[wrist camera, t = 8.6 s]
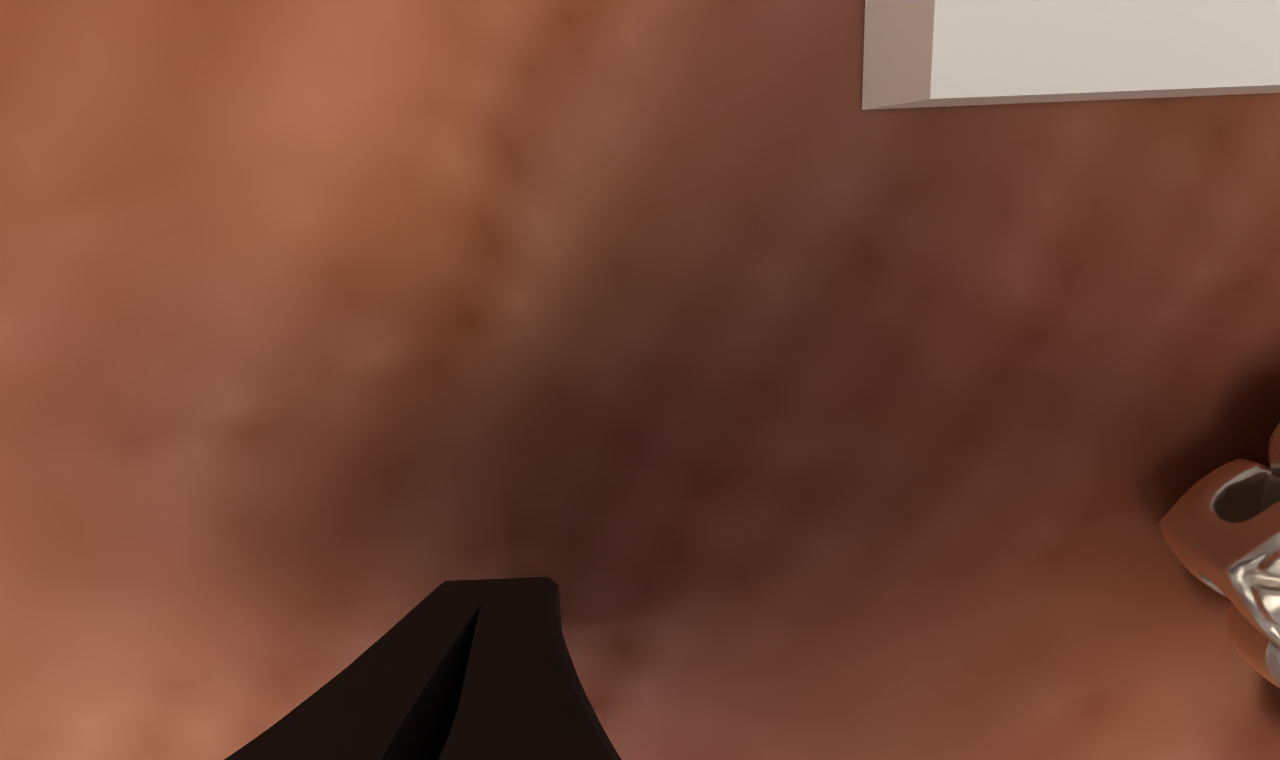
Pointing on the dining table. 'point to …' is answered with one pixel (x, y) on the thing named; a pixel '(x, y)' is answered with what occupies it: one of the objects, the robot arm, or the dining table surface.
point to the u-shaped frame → (1065, 50)
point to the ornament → (1237, 550)
